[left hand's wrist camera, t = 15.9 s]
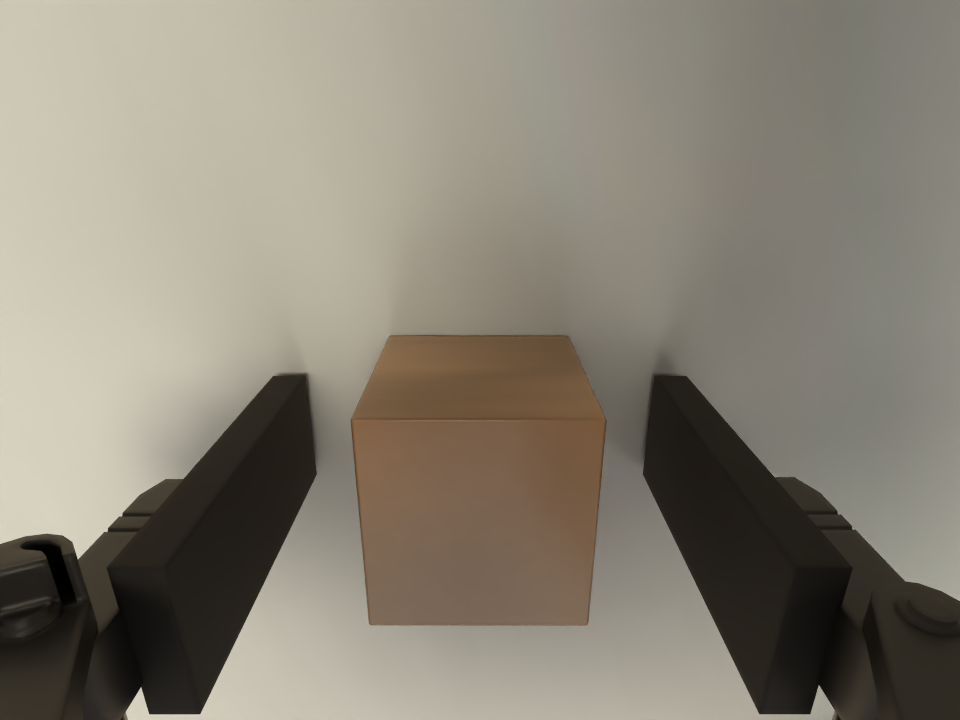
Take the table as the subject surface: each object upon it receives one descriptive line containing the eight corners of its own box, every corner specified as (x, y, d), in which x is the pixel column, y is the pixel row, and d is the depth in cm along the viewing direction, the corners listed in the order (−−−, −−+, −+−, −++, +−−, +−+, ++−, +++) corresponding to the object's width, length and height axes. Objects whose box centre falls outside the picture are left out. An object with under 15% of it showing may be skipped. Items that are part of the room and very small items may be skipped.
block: (569, 335, 13) (607, 419, 9) (559, 496, 15) (588, 626, 11) (388, 334, 13) (350, 418, 9) (398, 496, 15) (368, 626, 11)
